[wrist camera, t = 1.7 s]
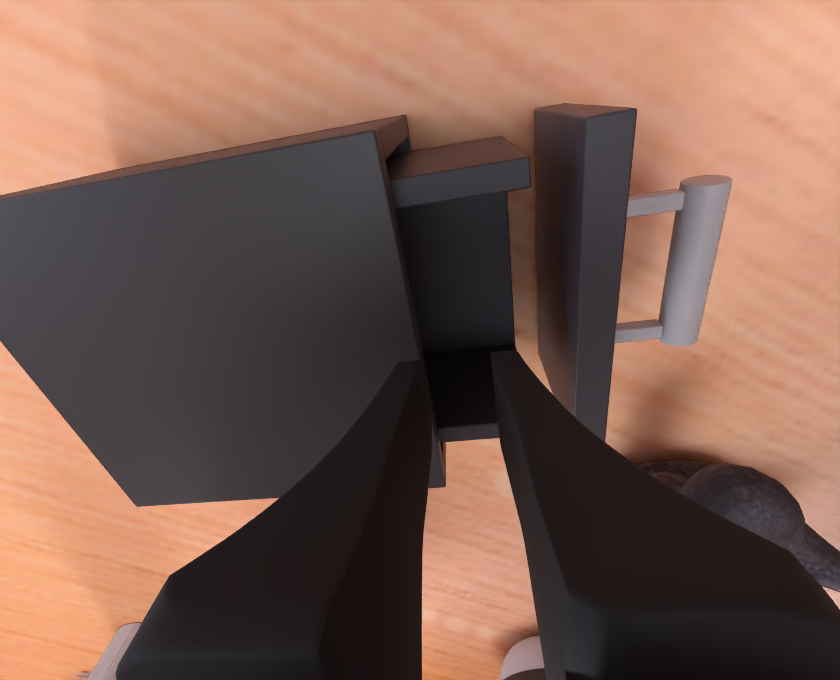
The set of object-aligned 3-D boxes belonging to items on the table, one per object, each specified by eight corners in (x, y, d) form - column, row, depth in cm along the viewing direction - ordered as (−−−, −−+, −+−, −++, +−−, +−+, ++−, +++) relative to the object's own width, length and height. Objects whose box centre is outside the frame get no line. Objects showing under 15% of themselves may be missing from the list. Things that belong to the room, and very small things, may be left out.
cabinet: (406, 114, 17) (375, 129, 9) (445, 362, 23) (446, 488, 16) (116, 169, 18) (-102, 218, 11) (227, 385, 25) (136, 507, 17)
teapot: (800, 528, 29) (950, 710, 20) (584, 570, 33) (632, 735, 24) (793, 316, 20) (1043, 476, 12) (504, 409, 25) (535, 576, 16)
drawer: (683, 81, 15) (836, 72, 9) (645, 342, 21) (724, 439, 15) (261, 158, 17) (165, 191, 11) (334, 374, 23) (296, 470, 17)
